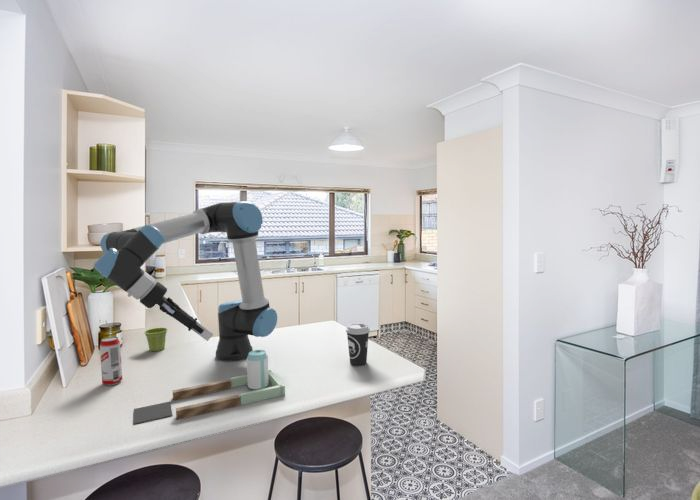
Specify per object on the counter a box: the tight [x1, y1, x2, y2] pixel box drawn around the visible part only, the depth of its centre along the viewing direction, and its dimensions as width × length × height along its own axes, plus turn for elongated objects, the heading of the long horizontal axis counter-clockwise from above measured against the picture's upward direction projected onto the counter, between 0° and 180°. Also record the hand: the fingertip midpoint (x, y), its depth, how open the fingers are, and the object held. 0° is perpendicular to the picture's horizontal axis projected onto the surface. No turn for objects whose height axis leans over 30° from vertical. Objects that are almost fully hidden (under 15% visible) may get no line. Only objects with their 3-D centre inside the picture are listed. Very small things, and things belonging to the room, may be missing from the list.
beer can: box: [99, 336, 123, 387], centre depth 140 cm, size 6×6×16 cm
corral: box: [229, 369, 286, 406], centre depth 132 cm, size 14×16×3 cm
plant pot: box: [143, 327, 168, 352], centre depth 177 cm, size 9×9×9 cm
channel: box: [172, 378, 241, 420], centre depth 124 cm, size 18×16×2 cm
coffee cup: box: [345, 322, 371, 367], centre depth 156 cm, size 10×10×15 cm
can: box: [246, 349, 270, 391], centre depth 135 cm, size 7×7×12 cm
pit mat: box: [133, 401, 173, 425], centre depth 118 cm, size 10×10×1 cm
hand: (210, 337), depth 125 cm, fingers closed
